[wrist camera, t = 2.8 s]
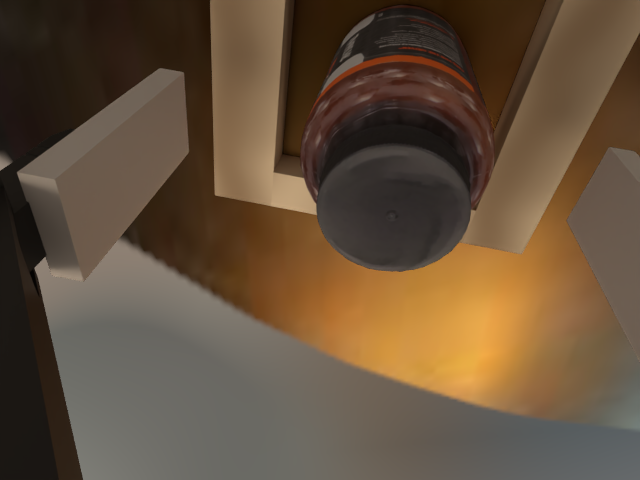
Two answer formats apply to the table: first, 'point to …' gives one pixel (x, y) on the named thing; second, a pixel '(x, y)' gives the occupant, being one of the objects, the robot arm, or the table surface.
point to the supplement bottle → (397, 142)
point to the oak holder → (510, 133)
